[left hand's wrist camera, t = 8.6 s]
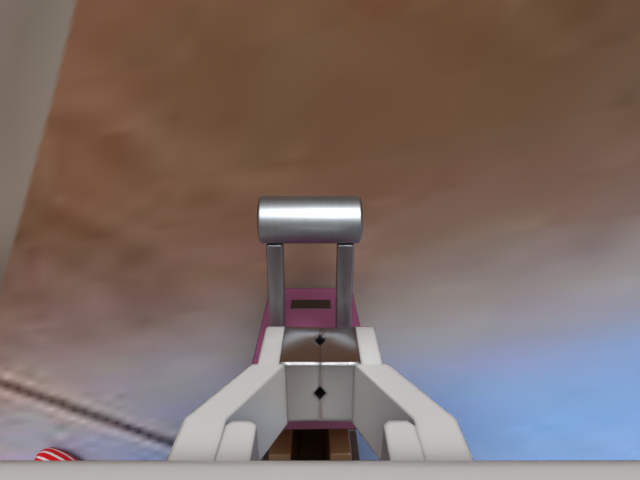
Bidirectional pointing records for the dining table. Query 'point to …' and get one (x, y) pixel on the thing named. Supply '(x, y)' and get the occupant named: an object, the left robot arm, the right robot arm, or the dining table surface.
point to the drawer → (310, 301)
